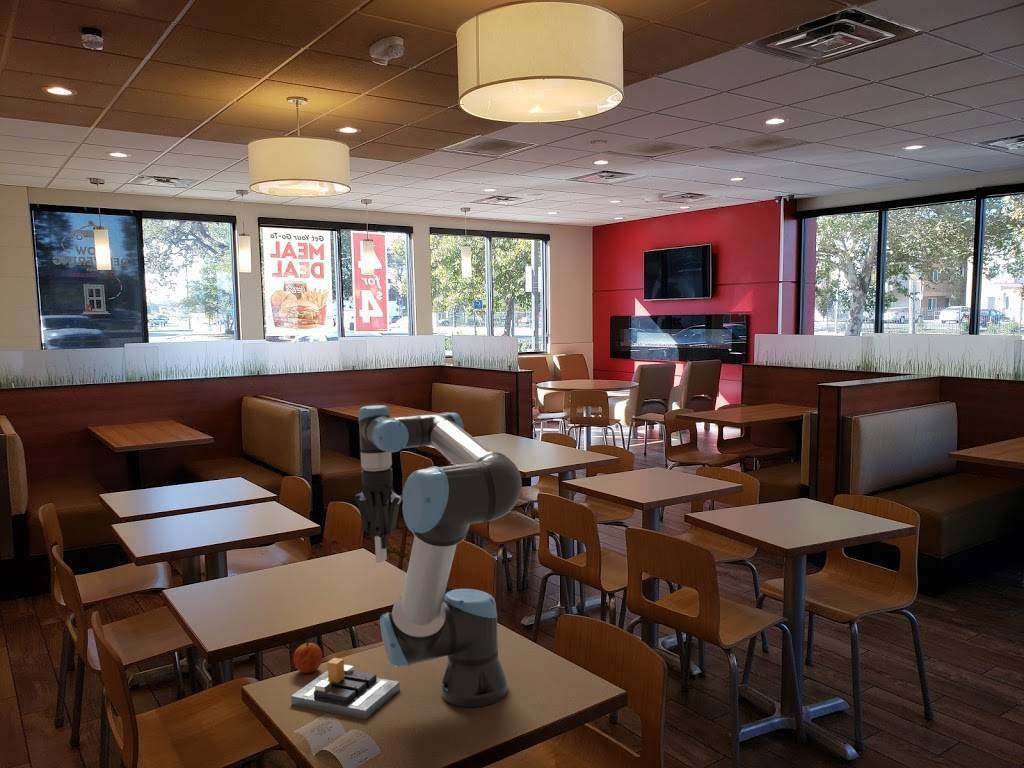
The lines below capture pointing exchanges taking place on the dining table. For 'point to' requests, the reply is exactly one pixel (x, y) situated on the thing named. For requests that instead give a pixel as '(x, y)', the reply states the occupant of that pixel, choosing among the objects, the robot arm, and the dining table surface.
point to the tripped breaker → (336, 670)
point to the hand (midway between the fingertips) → (381, 560)
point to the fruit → (307, 657)
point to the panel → (347, 707)
